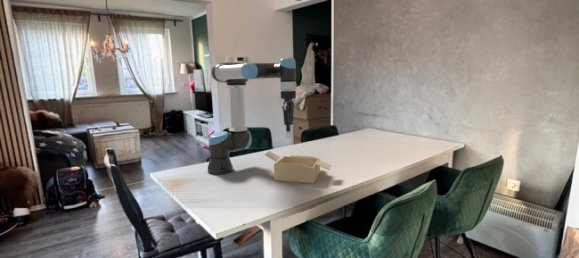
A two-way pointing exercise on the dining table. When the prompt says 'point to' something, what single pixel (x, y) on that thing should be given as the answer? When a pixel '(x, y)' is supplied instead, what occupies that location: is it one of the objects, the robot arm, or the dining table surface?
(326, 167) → the flap
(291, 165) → the flap
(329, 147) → the dining table surface
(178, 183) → the dining table surface
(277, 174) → the carton
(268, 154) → the flap
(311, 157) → the flap
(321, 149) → the dining table surface
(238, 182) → the dining table surface
